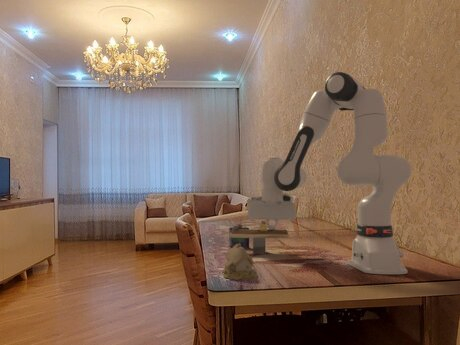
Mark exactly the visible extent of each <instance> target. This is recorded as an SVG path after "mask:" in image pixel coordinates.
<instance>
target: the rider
mask: <svg viewBox="0 0 460 345" xmlns="http://www.w3.org/2000/svg"><path fill="white" fill-rule="evenodd" d="M259 229H260V231H267V230H268V225H267V223H266V220H261V222H260V223H259Z"/></svg>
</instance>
